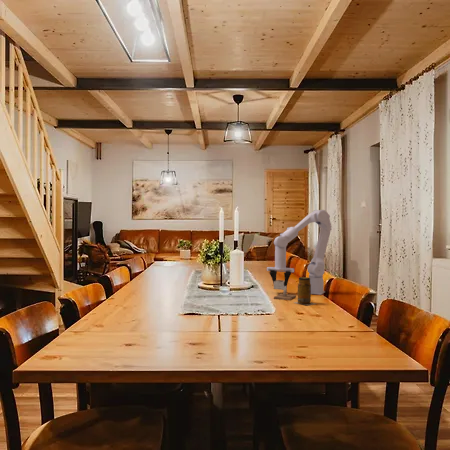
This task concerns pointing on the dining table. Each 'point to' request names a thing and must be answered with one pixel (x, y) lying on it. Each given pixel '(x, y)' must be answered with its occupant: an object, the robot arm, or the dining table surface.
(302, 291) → the condiment
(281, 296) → the block
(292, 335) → the dining table surface
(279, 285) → the block with square hole
